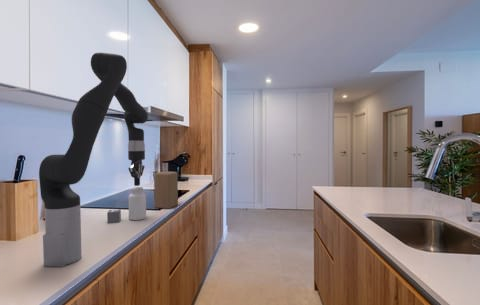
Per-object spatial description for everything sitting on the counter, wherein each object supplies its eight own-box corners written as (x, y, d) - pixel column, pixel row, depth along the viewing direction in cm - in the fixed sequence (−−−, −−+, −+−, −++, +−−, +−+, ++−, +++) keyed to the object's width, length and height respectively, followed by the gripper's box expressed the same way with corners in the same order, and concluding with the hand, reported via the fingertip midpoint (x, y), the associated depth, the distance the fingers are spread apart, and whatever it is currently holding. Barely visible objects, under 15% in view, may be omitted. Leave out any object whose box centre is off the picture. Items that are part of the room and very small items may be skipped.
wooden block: (153, 208, 148) (153, 173, 147) (163, 204, 158) (163, 171, 157) (169, 209, 145) (168, 173, 145) (178, 205, 155) (178, 171, 154)
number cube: (119, 222, 122) (119, 211, 121) (107, 223, 120) (107, 212, 120) (120, 219, 126) (120, 208, 126) (109, 220, 125) (109, 209, 125)
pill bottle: (131, 221, 122) (131, 189, 122) (126, 218, 128) (126, 187, 128) (148, 218, 127) (148, 188, 127) (143, 215, 133) (142, 186, 133)
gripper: (138, 150, 120) (138, 187, 120) (149, 149, 133) (150, 183, 134) (122, 150, 120) (123, 187, 121) (135, 149, 133) (135, 183, 134)
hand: (137, 185), depth 127 cm, fingers closed
